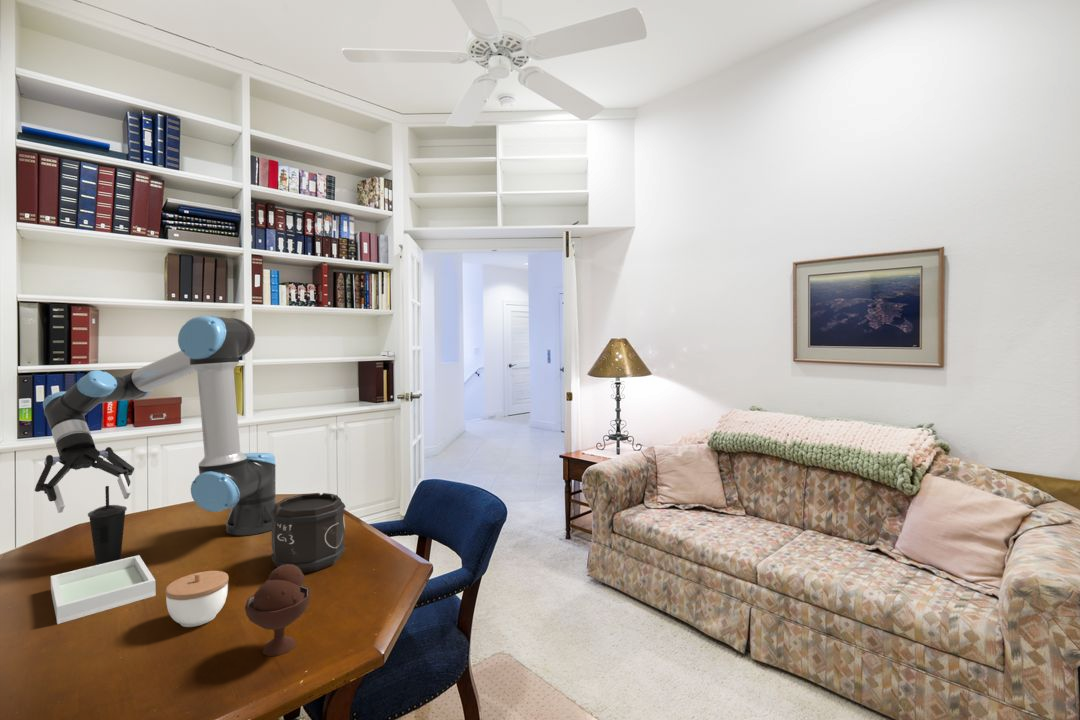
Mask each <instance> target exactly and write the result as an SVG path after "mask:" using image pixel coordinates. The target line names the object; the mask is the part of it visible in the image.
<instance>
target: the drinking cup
mask: <svg viewBox="0 0 1080 720" xmlns="http://www.w3.org/2000/svg"><path fill="white" fill-rule="evenodd" d="M127 509H128V508H127V507H126V506H123V505H119V504H110V486H109V485H105V505H103V506H100V507H97V508H95V509H93V510H91V511H89V512H88V513H87V517H88V518H89V524H90V531H91V539H92V545H93V553H94V558H95V565H99V564H104V563H108V562H112V561H116V560H120V559H122V548H123V539H124V529H125V528H124V527H125V519H126V518H125V517H126V511H127Z"/></svg>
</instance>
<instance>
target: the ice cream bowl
mask: <svg viewBox="0 0 1080 720" xmlns="http://www.w3.org/2000/svg"><path fill="white" fill-rule="evenodd" d="M305 578H306V576H305V575H304V573H302V571H301V570H300V569H299V568H298V567H297V566H295V565H291V564H286V565H281V566H279V567H277V566H276V568H274V569H273V570H272V571H271V572H270V573H269V575H268V579H267V580H265V582H263V583H262V584H261V586H259V588H258V589H257V590H256V591H255V592H254V594H253V595H251V596H250V597H248V598H247V600H246V603H245V606H244V611H245V615H246V617H247V618H248V620H249V621H250V622H252V623H253V624H254V625H256V626H258V627H260V628H262V629H265V630H270V631H273V634H274V635H273V638H272V639H271V640H270V641H268V642H267V643H266V644H264V647H263V650H262V654H263V655H264V656H266V657H279V656H282V655H284V654H287V653H289V652H290V651H292V650H293V649H294V648H295V647H296V639H295V638H293V637H291V636H289V635H288V636H287V635H285V629H286V627H288V626H290V625H291V624H292V623H294V622H295V621H296V620H297V619H299V618H300V617H301V616H302V615H303V614H304V613H305V612H306V610H307V608H308V606H309V603H310V599H311V598H310V597H311V587H308V586H306V585H303V583H304V580H305Z"/></svg>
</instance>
